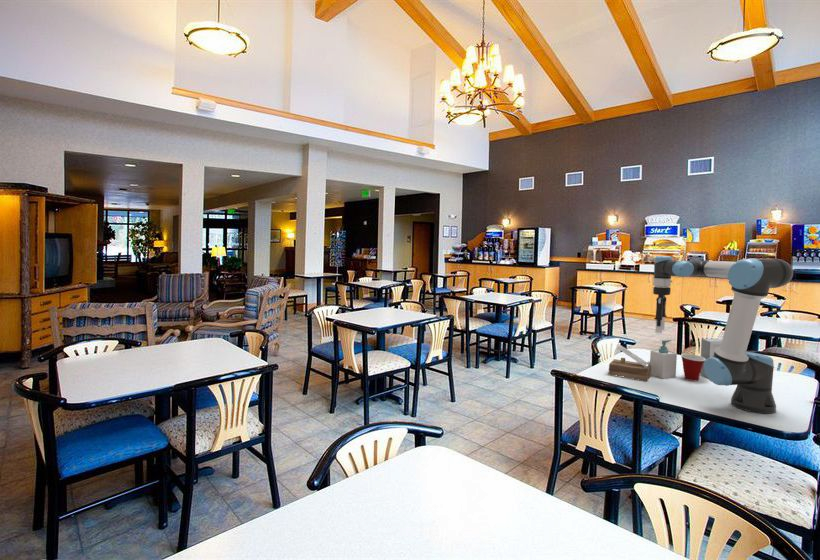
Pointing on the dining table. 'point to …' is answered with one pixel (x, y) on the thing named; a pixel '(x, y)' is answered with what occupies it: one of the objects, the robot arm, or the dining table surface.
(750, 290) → the robot arm
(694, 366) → the plastic cup
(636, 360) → the steel hasp
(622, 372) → the walnut box
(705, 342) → the hard drive box
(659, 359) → the soap bottle
